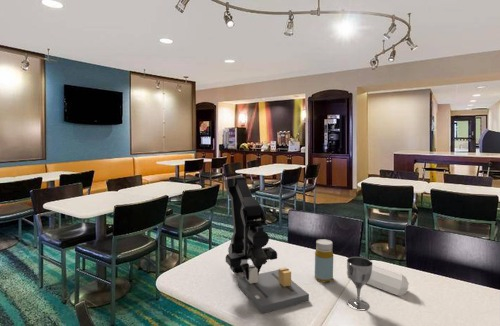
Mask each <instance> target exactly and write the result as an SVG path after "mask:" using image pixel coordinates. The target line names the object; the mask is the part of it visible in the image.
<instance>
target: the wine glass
mask: <svg viewBox="0 0 500 326" xmlns="http://www.w3.org/2000/svg"><path fill="white" fill-rule="evenodd" d="M372 265H374V264H373V261H372V260H371V259H368V258H366V257H362V256H351V257H348V258H347V260H346V272H347V271H348V275H349V276H348V278H349V279H350V280H351V282H352V283H353V284H354V286H355V288H356V296H357V297H356V298H350V299H348V303H349V304H350V305H352V306H353V307H355V308H357V309H365V310H364V311H367V310H369V309H370V304H369V303H368V302H367V301H366V300H363V299H361V296H360V295H361V289H362V288H363V287H364V286H365V285H366V284H367V282H368V281H369V280H370V277H371V274H372ZM360 299H361V300H360Z"/></svg>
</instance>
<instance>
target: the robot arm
mask: <svg viewBox="0 0 500 326" xmlns="http://www.w3.org/2000/svg"><path fill="white" fill-rule="evenodd" d="M247 181H248V180H247V176H234V177H227V179H225V180H224V188H225V189H226V190H225V191H226V194H227V195H228V197H229V198H230V203H231V204H230V205H231V215H232V224H233V226H232V227H233V234H232V236H231V238H230V243H229V246H228V249H227V251H228V253H227V254H226V256H225V263H226V264H227V265H228V266H229V268H230V270H232V271H233V272H234V273H236V274H237V273H240V272H241V273H242V272H243V274H244V277H246V279H247V280H249V269H248V267H249V266H250V263H248V260H251V262H252V265H254V266H255V267H256V268H257V269H258V274H260V271H261V269H262V266H263V265H266V263H268V261H269V260H270V261H273V260H277V259H278V252H277V251H276V250H275V249H274V248H272V247H270V246H269V247H268V246H267V245H268V243H269V241H270V236H269V234H268V233H267V232H266V231H265V230H264V227H263V226H266V225H267V224H266V223H267V222H266V221H267V217H266V214H265V211H264V209H263V208H264V207H263V206H261V204H260V202H259V200H256V199H255V198H254V197H253V194H252V192H251V190H250V187H249V185H248V182H247ZM266 246H267V247H266Z"/></svg>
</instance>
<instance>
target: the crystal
mask: <svg viewBox="0 0 500 326" xmlns="http://www.w3.org/2000/svg"><path fill="white" fill-rule="evenodd" d="M346 275H347V277H349V275H348V271H347V270H346ZM409 283H410V282H409V281H408V279H407V277H406V276H404V275H403V274H402V273H399V272H396V271H393V270H390V269H388V268H384V267H381V266H377V265H375V264H373V265H372V274H371V277H370V280H369V281H368V282H367V283H366V284H367V285H369V286H372V287H374V288H376V289H377V288H378V289H380V290H382V291H385V292H387V293H390V294H394V296H395V295H396V296H399V297H400V296H404V295H406V294H407V293H408V290H409Z"/></svg>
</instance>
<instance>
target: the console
mask: <svg viewBox="0 0 500 326" xmlns="http://www.w3.org/2000/svg"><path fill="white" fill-rule="evenodd" d="M236 280H237V281H236V285H237V286H238V288H240V290H241V291H242V292H243V293H244V294H245V295H246V297H247V298H248V299H249V301H250V302H251V303H252V304H253V305H254V306H255V308H256V309H257V310H258V312H260V314H265V313H270V312H273V311H277V310H280V309H281V310H282V309H284V308H288V307H292V306H296V305H300V304H303V303H308V302H309V301H310V294H309V293H308V292H307V291H306V290H304V289H303V288H302V287H301V286H300V285H298V284H297V283H295V281H293V280H292V279H291V285H290V286H285V287H283V286H282V285H281V284H280V283H279V282H278V269H275V270H272V271H271V270H270V271H266V272H261V273H259V274H258V282H256V283H252V284H250V283H249V282H248V281H247V280H246V276H241V277H238V278H237V279H236Z"/></svg>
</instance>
